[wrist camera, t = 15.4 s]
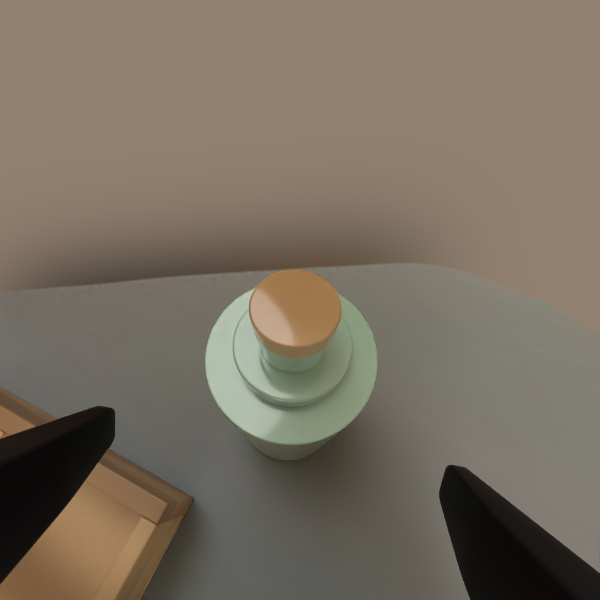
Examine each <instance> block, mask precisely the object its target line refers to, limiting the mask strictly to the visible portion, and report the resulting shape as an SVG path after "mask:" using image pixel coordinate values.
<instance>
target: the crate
mask: <svg viewBox="0 0 600 600" xmlns="http://www.w3.org/2000/svg"><path fill="white" fill-rule="evenodd" d="M54 420H57V419H55V418H53V417H51V416H50V415H48V414H46V413H44V412H42V411H41V410H39V409H37V408H35V407H34V406H32V405H30V404H28V403H27V402H25V401H23V400H21V399H20V398H18V397H16V396H14V395H13V394H11V393H9V392H7V391H6V390H4V389H2V388H0V439H1V438H4V437H7V436H10V435H13V434H15V433H18V432H21V431H24V430H27V429H30V428H33V427H36V426H39V425H42V424H45V423H48V422H51V421H54ZM192 500H193V497H192V496H190V495H188V494H186V493H185V492H183V491H181V490H179V489H178V488H176V487H174V486H172V485H171V484H169V483H167V482H165V481H164V480H162V479H160V478H158V477H157V476H155V475H153V474H151V473H150V472H148V471H146V470H144V469H143V468H141V467H139V466H137V465H135V464H134V463H132V462H130V461H128V460H127V459H125V458H123V457H121V456H120V455H118V454H116V453H114V452H113V451H111V450H109V449H108V450H107V451H106V453H105V454H104V455H103V457H102V458H101V459H100V461H99V462H98V464H97V465H96V466H95V468H94V469H93V471H92V472H91V473H90V475H89V476H88V478H87V479H86V480H85V482H84V483H83V485H82V486H81V487H80V489H79V490H78V491H77V493H76V494H75V496H74V497H73V498H72V499H71V501H70V502H69V503H68V505H67V506H66V507H65V508H64V510H63V511H62V512H61V513H60V514H59V516H58V517H57V518H56V519H55V520H54V522H53V523H52V524H51V525H50V526H49V528H48V529H47V530H46V531H45V532H44V533H43V535H42V536H41V537H40V538H39V539H38V541H37V542H36V543H35V544H34V545H33V547H32V548H31V549H30V550H29V551H28V552H27V554H26V555H25V556H24V557H23V558H22V560H21V561H20V562H19V563H18V564H17V566H16V567H15V568H14V569H13V570H12V571H11V573H10V574H9V575H8V576H7V577H6V579H5V580H4V581H3V582H2V583H1V584H0V600H140V599H141V598H142V596H143V594H144V592H145V590H146V588H147V586H148V584H149V582H150V580H151V578H152V577H153V575H154V573H155V571H156V569H157V567H158V565H159V563H160V561H161V559H162V557H163V556H164V554H165V552H166V550H167V548H168V546H169V544H170V542H171V540H172V538H173V537H174V535H175V533H176V531H177V529H178V527H179V525H180V523H181V521H182V519H183V517H184V516H185V514H186V512H187V510H188V508H189V506H190V504H191V502H192Z"/></svg>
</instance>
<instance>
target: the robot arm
mask: <svg viewBox="0 0 600 600" xmlns="http://www.w3.org/2000/svg"><path fill="white" fill-rule="evenodd" d="M114 437H115V411H114V409H112V408H109V407H103V406H96V407H93V408H90V409H87V410H84V411H81V412H78V413H75V414H72V415H69V416H66V417H63V418H60V419H57V420H54V421H51V422H48V423H45V424H42V425H39V426H36V427H33V428H30V429H27V430H24V431H21V432H18V433H15V434H13V435H10V436H7V437H4V438H1V439H0V584H1V583H2V582H3V581H4V580H5V579H6V577H7V576H8V575H9V574H10V573H11V571H12V570H13V569H14V568H15V567H16V566H17V564H18V563H19V562H20V561H21V560H22V558H23V557H24V556H25V555H26V554H27V552H28V551H29V550H30V549H31V548H32V547H33V545H34V544H35V543H36V542H37V541H38V539H39V538H40V537H41V536H42V535H43V533H44V532H45V531H46V530H47V529H48V528H49V526H50V525H51V524H52V523H53V522H54V520H55V519H56V518H57V517H58V516H59V514H60V513H61V512H62V511H63V510H64V508H65V507H66V506H67V505H68V503H69V502H70V501H71V499H72V498H73V497H74V496H75V494H76V493H77V491H78V490H79V489H80V487H81V486H82V485H83V483H84V482H85V480H86V479H87V478H88V476H89V475H90V473H91V472H92V471H93V469H94V468H95V466H96V465H97V464H98V462H99V461H100V459H101V458H102V457H103V455H104V454H105V453H106V451H107V450H108V448H109V447H110V446H111V444H112V442H113V440H114ZM439 498H440V503H441V506H442V510H443V513H444V517H445V520H446V524H447V527H448V531H449V534H450V538H451V542H452V545H453V549H454V552H455V556H456V559H457V562H458V566H459V569H460V572H461V575H462V578H463V581H464V584H465V587H466V589H467V592H468V595H469V597H470V600H600V573H599V572H597V571H596V570H595V569H594V568H592V567H591V566H590V565H589V564H587V563H586V562H585V561H583V560H582V559H581V558H580V557H578V556H577V555H576V554H575V553H573V552H572V551H571V550H569V549H568V548H567V547H566V546H564V545H563V544H562V543H561V542H559V541H558V540H557V539H556V538H554V537H553V536H552V535H550V534H549V533H548V532H547V531H545V530H544V529H543V528H542V527H540V526H539V525H538V524H537V523H535V522H534V521H533V520H531V519H530V518H529V517H528V516H526V515H525V514H524V513H523V512H521V511H520V510H519V509H517V508H516V507H515V506H514V505H512V504H511V503H510V502H509V501H507V500H506V499H505V498H504V497H502V496H501V495H500V494H498V493H497V492H496V491H495V490H493V489H492V488H491V487H490V486H488V485H487V484H486V483H485V482H483V481H482V480H481V479H479V478H478V477H477V476H476V475H474V474H473V473H472V472H471V471H469V470H468V469H467V468H465V467H461V466H455V465H448V466H447V467H446V470H445V473H444V476H443V480H442V483H441V487H440V491H439Z"/></svg>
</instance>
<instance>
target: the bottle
mask: <svg viewBox="0 0 600 600" xmlns="http://www.w3.org/2000/svg"><path fill="white" fill-rule="evenodd" d="M377 371H378V355H377V348H376V344H375V340H374V337H373V334H372V332H371V329H370V327H369V326H368V324H367V322H366V320H365V319H364V317H363V316H362V315H361V313H360V312H359V311H358V310H357V309H356V308H355V306H354V305H353V304H351V303H350V302H349V301H348V300H347V299H346V298H344V297H343V296H341V295H340V294H338V293H337V292H336V290H335V289H334V288H333V286H332V285H331V284H330V283H329V282H328V281H327V280H325V279H324V278H322V277H321V276H319V275H317V274H315V273H312V272H309V271H306V270H298V269H290V270H283V271H279V272H276V273H274V274H272V275H270V276H268V277H267V278H265V279H264V280H263V281H261V282H260V283H259V285H258V286H257V287H256V288H253V289H251V290H249V291H247V292H246V293H244V294H243V295H241V296H240V297H238V298H237V299H236V300H234V301H233V302H232V303H231V304H230V305H229V306H228V307H227V308H226V309H225V310H224V311H223V312H222V314H221V315H220V317H219V318H218V319H217V321H216V323H215V325H214V327H213V328H212V331H211V333H210V336H209V338H208V342H207V346H206V352H205V373H206V378H207V383H208V386H209V389H210V392H211V394H212V396H213V398H214V400H215V402H216V404H217V406H218V407H219V408H220V410H221V411H222V412H223V414H224V415H225V416H226V417H227V418H228V419H229V420H230V421H231V422H232V423H233V424H234V425H235V427H236V428H237V429H238V430H239V431H240V432H241V433H242V434H243V435H244V436H245V437H246V438H247V439H248V440H249V441H250V442H251V443H252V444H253V445H254V446H255V447H256V448H257V449H258V450H259V451H260V452H262V453H263V454H265V455H267V456H269V457H271V458H274V459H278V460H286V461H291V460H298V459H302V458H305V457H307V456H309V455H311V454H313V453H314V452H316V451H317V450H318V449H319V448H321V447H322V446H323V445H324V444H326V443H327V442H328V441H329V440H330V439H332V438H333V437H334V436H335V435H336V434H338V433H339V432H340V431H341V430H343V429H344V428H345V427H346V426H347V425H349V424H350V423H351V422H352V421H353V420H354V419H355V418H356V417H357V416H358V415H359V414H360V413H361V411H362V410H363V408H364V407H365V405H366V404H367V402H368V400H369V398H370V396H371V394H372V392H373V389H374V386H375V382H376V378H377Z"/></svg>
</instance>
